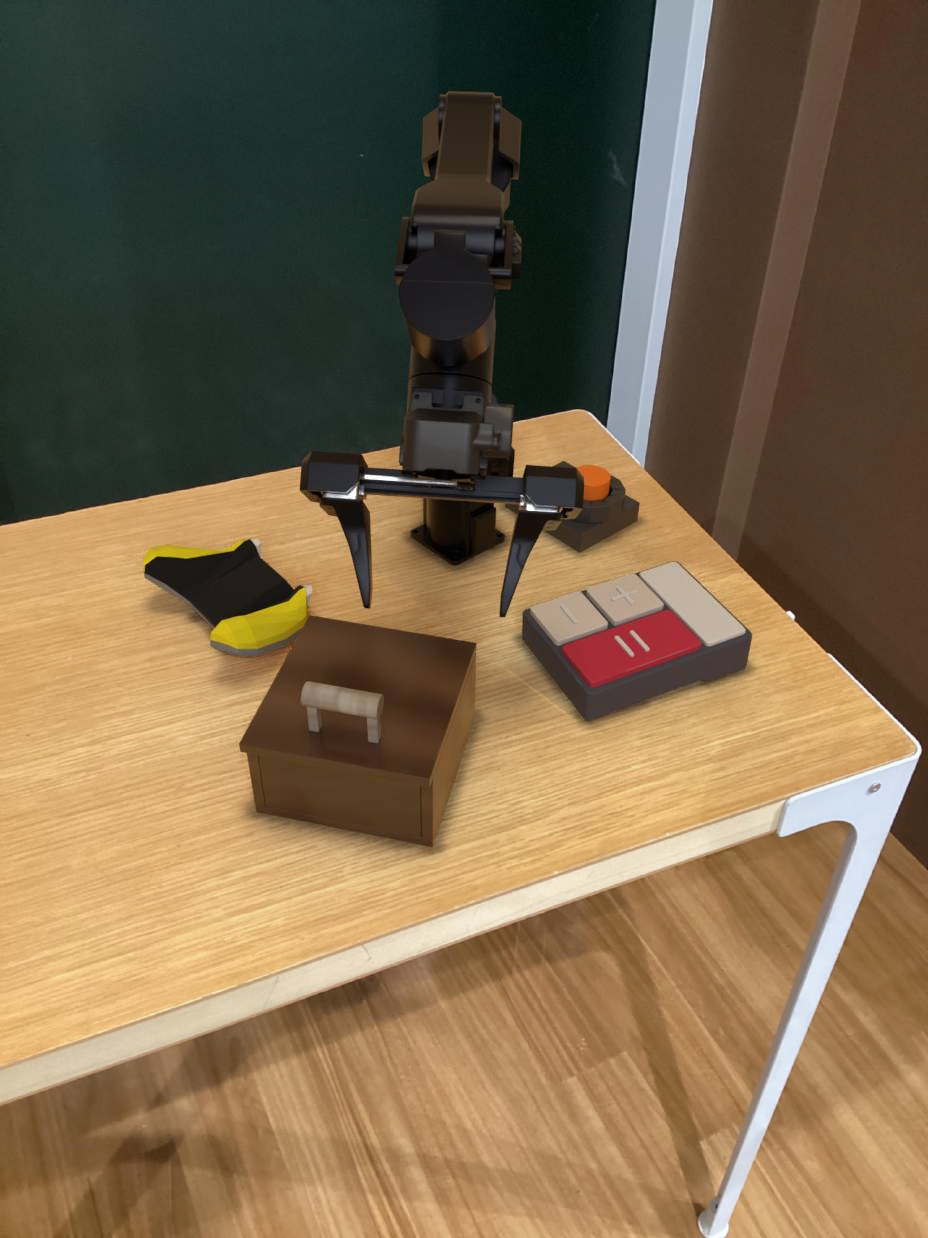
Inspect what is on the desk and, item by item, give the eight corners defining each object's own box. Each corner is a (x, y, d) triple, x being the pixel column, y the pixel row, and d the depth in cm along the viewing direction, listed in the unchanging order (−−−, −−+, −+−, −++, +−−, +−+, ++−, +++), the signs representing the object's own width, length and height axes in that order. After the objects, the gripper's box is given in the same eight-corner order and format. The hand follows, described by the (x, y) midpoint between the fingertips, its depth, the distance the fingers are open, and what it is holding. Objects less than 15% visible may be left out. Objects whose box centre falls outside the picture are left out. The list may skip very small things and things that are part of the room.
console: (504, 507, 104) (506, 471, 101) (562, 479, 108) (565, 444, 105) (581, 554, 98) (585, 518, 95) (639, 522, 102) (644, 487, 99)
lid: (429, 788, 67) (429, 736, 64) (240, 752, 69) (231, 700, 66) (476, 650, 77) (478, 600, 74) (310, 623, 79) (305, 573, 76)
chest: (432, 847, 72) (432, 779, 67) (255, 812, 74) (244, 743, 69) (474, 719, 81) (476, 651, 77) (316, 690, 83) (310, 623, 79)
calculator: (520, 602, 86) (677, 551, 91) (520, 642, 89) (672, 591, 93) (589, 688, 78) (756, 627, 83) (586, 728, 81) (748, 667, 86)
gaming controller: (230, 695, 83) (337, 642, 88) (221, 641, 79) (333, 589, 84) (141, 600, 91) (243, 557, 96) (129, 548, 88) (236, 506, 93)
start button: (561, 489, 99) (563, 473, 98) (588, 476, 101) (590, 460, 100) (590, 506, 97) (592, 489, 96) (616, 492, 99) (618, 475, 98)
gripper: (295, 341, 65) (276, 597, 64) (601, 361, 65) (585, 617, 64) (320, 387, 76) (304, 605, 76) (581, 404, 76) (567, 623, 75)
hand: (434, 612), depth 72 cm, fingers open, 9 cm apart
